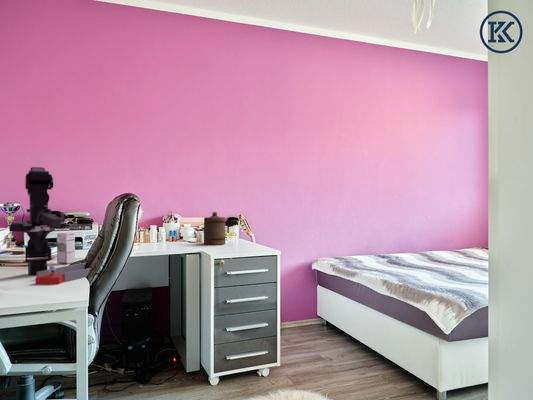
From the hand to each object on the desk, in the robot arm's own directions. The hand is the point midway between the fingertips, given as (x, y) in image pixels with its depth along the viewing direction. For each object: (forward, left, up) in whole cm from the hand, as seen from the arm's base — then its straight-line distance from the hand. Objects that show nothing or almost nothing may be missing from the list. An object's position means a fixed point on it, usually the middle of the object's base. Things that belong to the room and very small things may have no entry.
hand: (38, 250), depth 144 cm
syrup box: (-31, +44, -12) cm, 55 cm away
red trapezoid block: (+3, +3, -12) cm, 13 cm away
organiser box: (0, +17, -12) cm, 21 cm away
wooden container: (-1, +145, -12) cm, 145 cm away
